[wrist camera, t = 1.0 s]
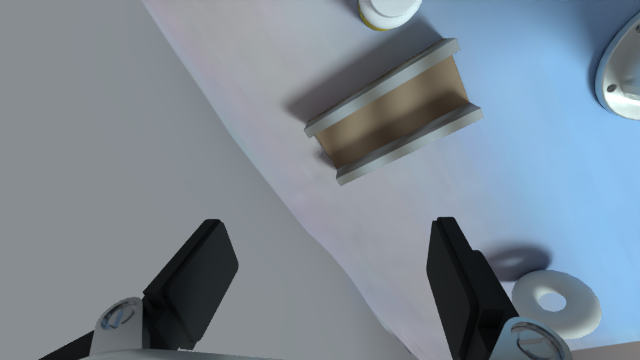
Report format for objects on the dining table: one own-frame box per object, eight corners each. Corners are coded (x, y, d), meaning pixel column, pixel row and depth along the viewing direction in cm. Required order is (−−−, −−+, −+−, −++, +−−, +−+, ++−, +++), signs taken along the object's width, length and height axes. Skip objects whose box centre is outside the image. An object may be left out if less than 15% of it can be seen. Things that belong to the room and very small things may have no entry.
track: (443, 38, 27) (455, 37, 24) (470, 109, 30) (484, 118, 27) (308, 121, 33) (303, 129, 30) (342, 173, 36) (340, 186, 33)
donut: (505, 291, 44) (542, 353, 35) (495, 280, 43) (531, 340, 34) (569, 268, 40) (629, 331, 31) (560, 255, 39) (620, 316, 30)
